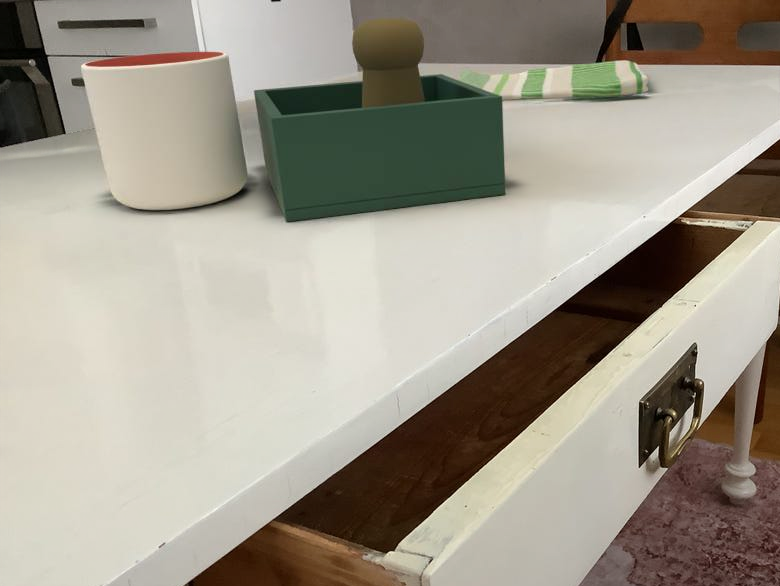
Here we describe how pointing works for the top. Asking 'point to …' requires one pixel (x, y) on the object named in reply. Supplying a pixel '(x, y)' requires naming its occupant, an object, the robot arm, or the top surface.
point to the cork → (389, 61)
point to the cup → (167, 128)
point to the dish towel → (564, 81)
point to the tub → (379, 147)
